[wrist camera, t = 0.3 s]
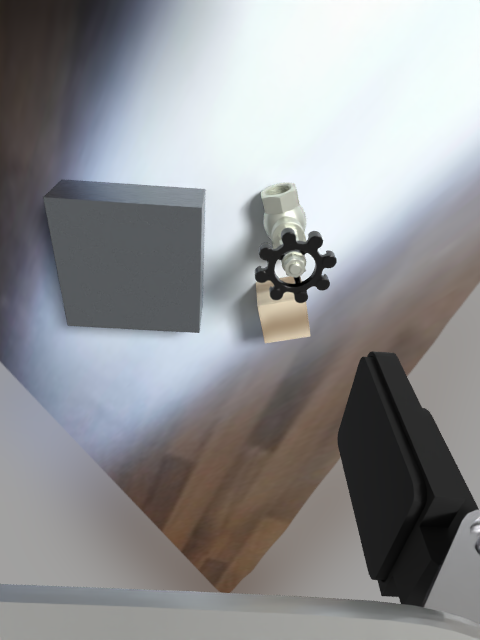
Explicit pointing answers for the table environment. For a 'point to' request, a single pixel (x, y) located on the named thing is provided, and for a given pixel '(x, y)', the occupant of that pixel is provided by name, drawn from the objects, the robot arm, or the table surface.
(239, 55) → the table surface
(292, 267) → the valve
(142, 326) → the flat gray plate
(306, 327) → the pale wood block
